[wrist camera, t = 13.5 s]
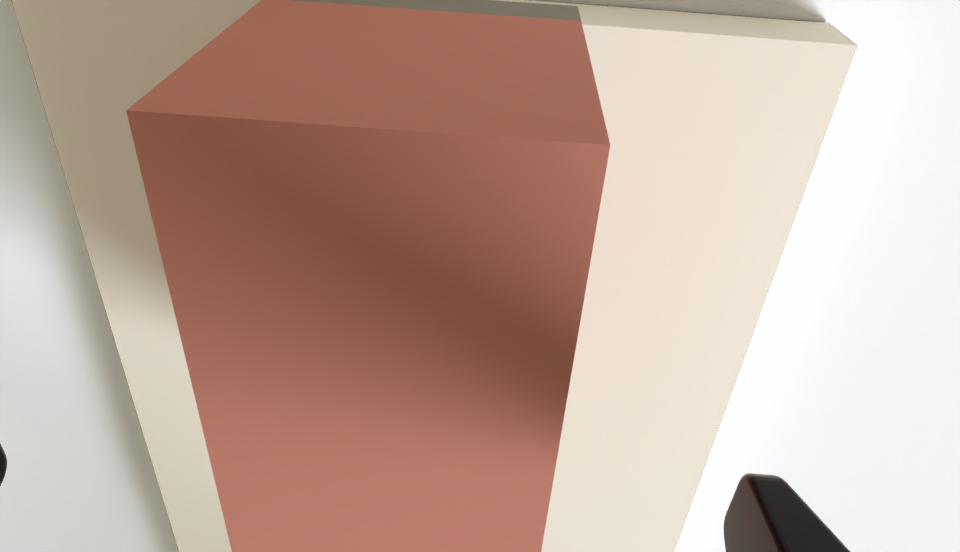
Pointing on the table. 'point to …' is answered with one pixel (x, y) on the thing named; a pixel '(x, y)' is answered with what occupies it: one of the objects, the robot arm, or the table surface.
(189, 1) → the board
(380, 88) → the block
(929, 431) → the table surface
